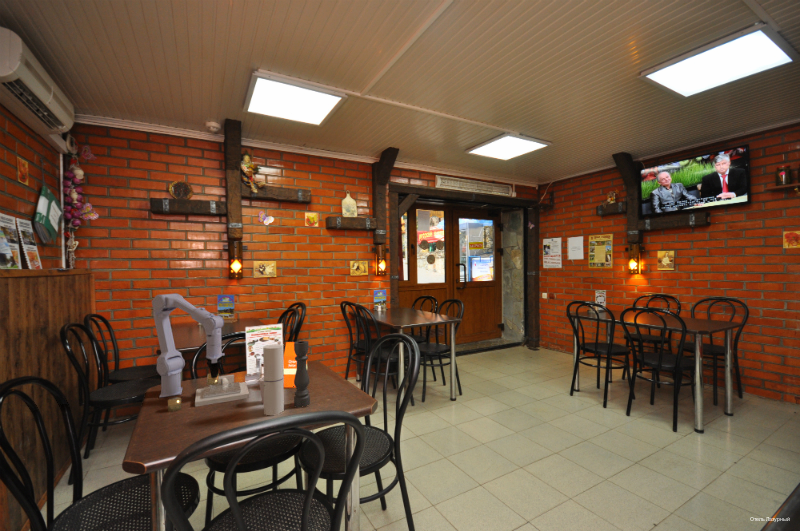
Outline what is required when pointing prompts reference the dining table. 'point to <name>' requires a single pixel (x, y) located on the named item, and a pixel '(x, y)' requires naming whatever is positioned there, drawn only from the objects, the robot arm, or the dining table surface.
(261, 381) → the smoothie
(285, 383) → the orange juice
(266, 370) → the cylindrical container
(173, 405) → the brass weight
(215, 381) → the brass weight
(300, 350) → the candle holder
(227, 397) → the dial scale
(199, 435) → the dining table surface
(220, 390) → the scale pan
